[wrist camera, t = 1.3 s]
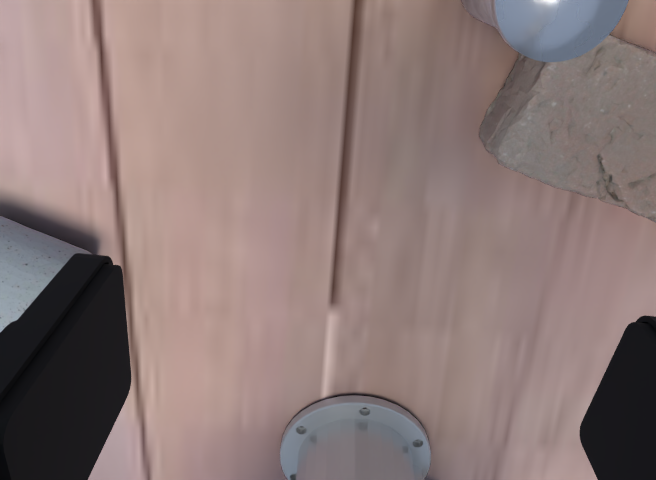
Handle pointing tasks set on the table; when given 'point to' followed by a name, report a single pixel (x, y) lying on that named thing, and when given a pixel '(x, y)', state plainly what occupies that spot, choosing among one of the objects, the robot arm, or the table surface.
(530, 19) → the hinge pin
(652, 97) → the brick
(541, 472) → the table surface
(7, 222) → the ceramic mug
